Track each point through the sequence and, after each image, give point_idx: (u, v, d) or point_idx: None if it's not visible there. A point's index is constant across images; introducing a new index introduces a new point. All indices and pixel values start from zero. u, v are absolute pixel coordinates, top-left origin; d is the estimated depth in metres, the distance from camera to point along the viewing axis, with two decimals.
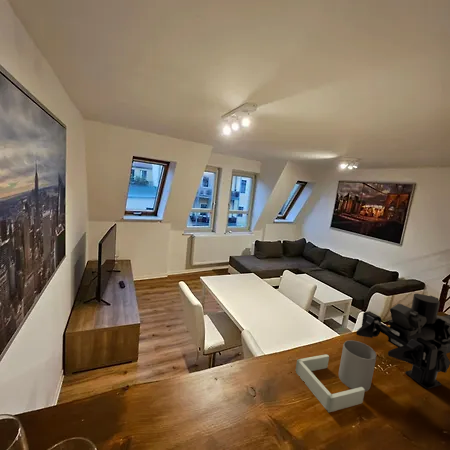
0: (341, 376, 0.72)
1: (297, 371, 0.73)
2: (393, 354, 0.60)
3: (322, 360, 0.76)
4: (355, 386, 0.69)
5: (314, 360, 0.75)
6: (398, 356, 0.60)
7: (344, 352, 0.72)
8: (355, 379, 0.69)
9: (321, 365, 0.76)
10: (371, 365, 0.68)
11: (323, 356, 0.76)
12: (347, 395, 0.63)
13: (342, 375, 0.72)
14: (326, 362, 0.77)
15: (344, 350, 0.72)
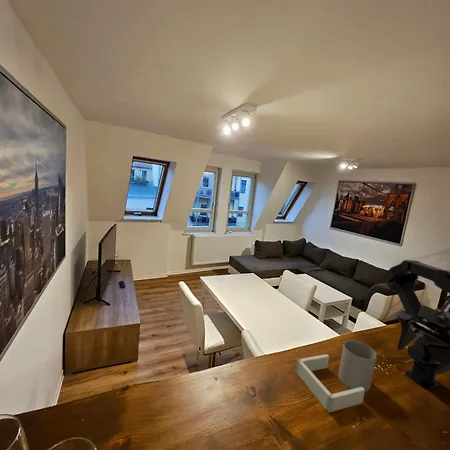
0: (341, 376, 0.72)
1: (297, 371, 0.73)
2: (440, 371, 0.58)
3: (322, 360, 0.76)
4: (355, 386, 0.69)
5: (314, 360, 0.75)
6: (447, 369, 0.59)
7: (344, 352, 0.72)
8: (355, 379, 0.69)
9: (321, 365, 0.76)
10: (371, 365, 0.68)
11: (323, 356, 0.76)
12: (347, 395, 0.63)
13: (342, 375, 0.72)
14: (326, 362, 0.77)
15: (344, 350, 0.72)
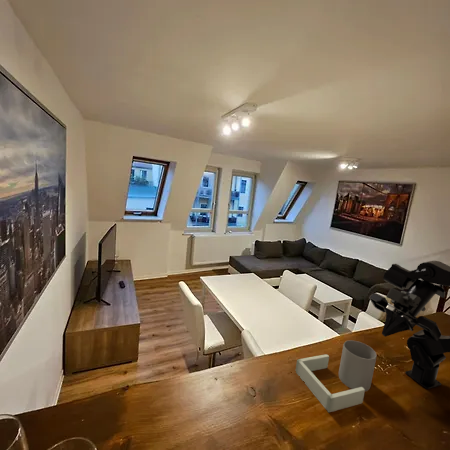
0: (341, 376, 0.72)
1: (297, 371, 0.73)
2: (387, 334, 0.73)
3: (322, 360, 0.76)
4: (355, 386, 0.69)
5: (314, 360, 0.75)
6: (393, 332, 0.73)
7: (344, 352, 0.72)
8: (355, 379, 0.69)
9: (321, 365, 0.76)
10: (371, 365, 0.68)
11: (323, 356, 0.76)
12: (347, 395, 0.63)
13: (342, 375, 0.72)
14: (326, 362, 0.77)
15: (344, 350, 0.72)
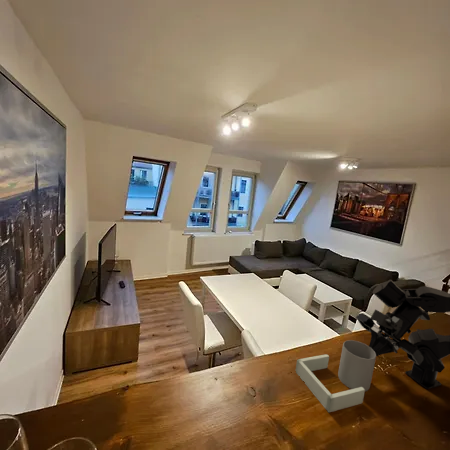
0: (341, 376, 0.72)
1: (297, 371, 0.73)
2: None
3: (322, 360, 0.76)
4: (355, 386, 0.69)
5: (314, 360, 0.75)
6: (377, 354, 0.73)
7: (344, 352, 0.72)
8: (355, 379, 0.69)
9: (321, 365, 0.76)
10: (370, 365, 0.68)
11: (323, 356, 0.76)
12: (347, 395, 0.63)
13: (342, 375, 0.72)
14: (326, 362, 0.77)
15: (344, 350, 0.72)
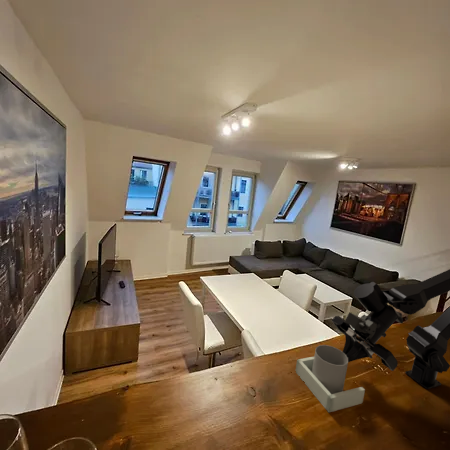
0: None
1: (297, 371, 0.73)
2: None
3: None
4: None
5: None
6: (351, 359, 0.70)
7: (315, 357, 0.68)
8: (325, 385, 0.66)
9: None
10: (341, 372, 0.64)
11: None
12: (347, 395, 0.63)
13: None
14: None
15: (315, 355, 0.69)
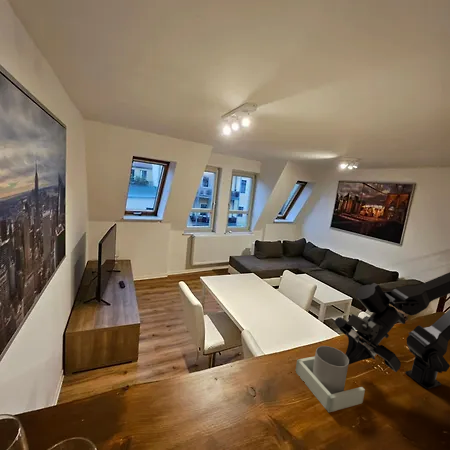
0: None
1: (297, 371, 0.73)
2: (349, 362, 0.70)
3: None
4: None
5: None
6: (354, 360, 0.70)
7: (315, 357, 0.68)
8: (324, 386, 0.65)
9: None
10: (340, 373, 0.64)
11: None
12: (347, 395, 0.63)
13: None
14: None
15: (315, 355, 0.69)
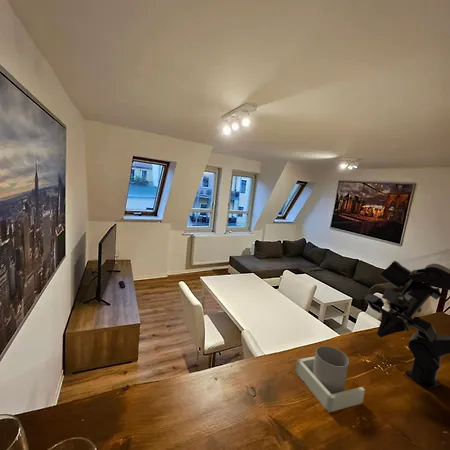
0: None
1: (297, 371, 0.73)
2: (383, 334, 0.73)
3: None
4: None
5: None
6: (388, 333, 0.73)
7: (315, 357, 0.68)
8: (324, 386, 0.65)
9: None
10: (340, 373, 0.64)
11: None
12: (347, 395, 0.63)
13: None
14: None
15: (315, 355, 0.69)
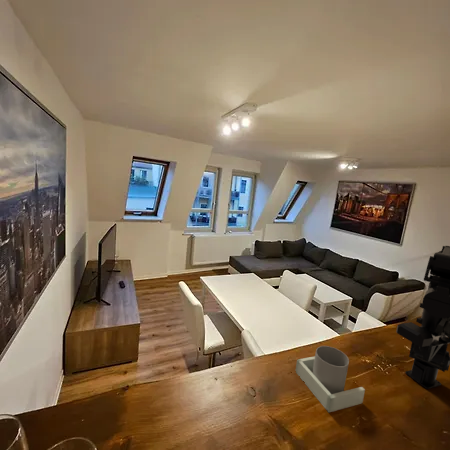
0: None
1: (297, 371, 0.73)
2: None
3: None
4: None
5: None
6: None
7: (315, 357, 0.68)
8: (324, 386, 0.65)
9: None
10: (340, 373, 0.64)
11: None
12: (347, 395, 0.63)
13: None
14: None
15: (315, 355, 0.69)
